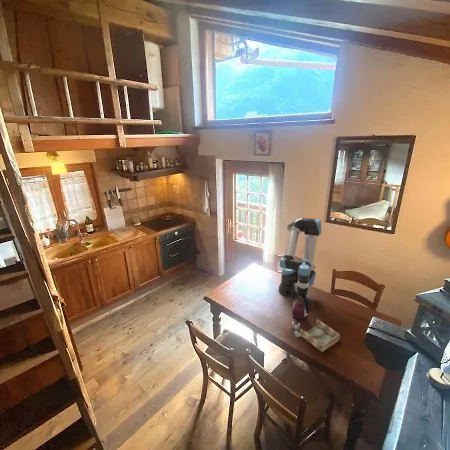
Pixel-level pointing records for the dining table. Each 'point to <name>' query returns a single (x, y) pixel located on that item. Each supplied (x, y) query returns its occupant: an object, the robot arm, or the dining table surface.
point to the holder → (321, 336)
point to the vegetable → (299, 310)
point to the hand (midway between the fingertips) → (300, 311)
